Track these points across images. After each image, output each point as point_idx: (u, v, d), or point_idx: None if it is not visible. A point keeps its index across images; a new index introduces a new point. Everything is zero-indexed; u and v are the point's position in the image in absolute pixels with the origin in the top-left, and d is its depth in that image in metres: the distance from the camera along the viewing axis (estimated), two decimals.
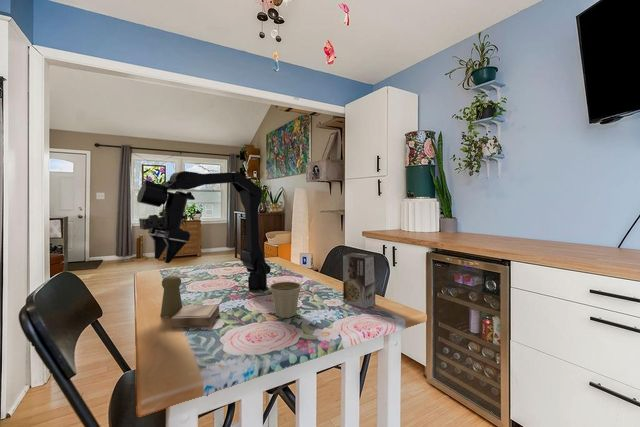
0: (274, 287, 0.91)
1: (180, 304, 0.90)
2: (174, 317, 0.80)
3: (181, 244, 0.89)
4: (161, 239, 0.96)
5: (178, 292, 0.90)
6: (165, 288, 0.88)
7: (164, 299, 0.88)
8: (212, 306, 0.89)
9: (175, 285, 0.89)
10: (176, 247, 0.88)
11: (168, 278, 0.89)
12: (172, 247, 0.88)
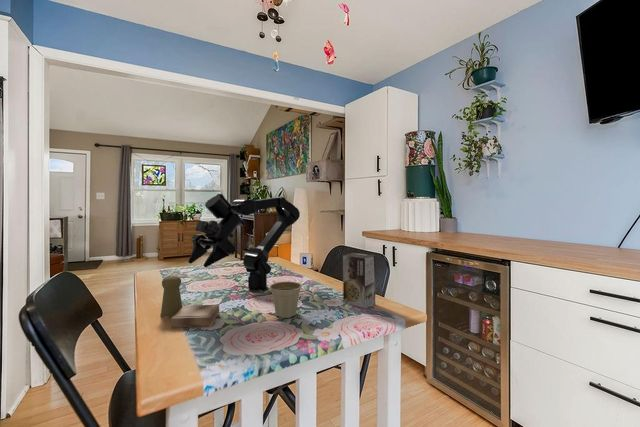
0: (274, 287, 0.91)
1: (180, 304, 0.90)
2: (174, 317, 0.80)
3: (223, 255, 0.96)
4: (200, 248, 1.03)
5: (178, 292, 0.90)
6: (165, 288, 0.88)
7: (164, 299, 0.88)
8: (212, 306, 0.89)
9: (175, 285, 0.89)
10: (218, 256, 0.96)
11: (168, 278, 0.89)
12: (215, 254, 0.95)
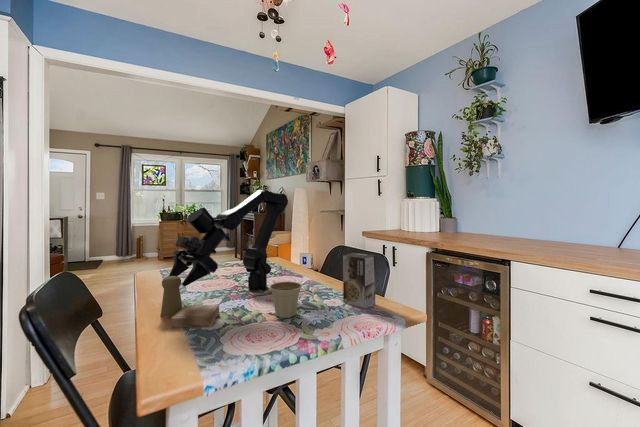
0: (274, 287, 0.91)
1: (180, 304, 0.90)
2: (174, 317, 0.80)
3: (204, 273, 0.91)
4: (181, 264, 0.98)
5: (178, 292, 0.90)
6: (165, 288, 0.88)
7: (164, 299, 0.88)
8: (212, 306, 0.89)
9: (175, 285, 0.89)
10: (199, 274, 0.91)
11: (168, 278, 0.89)
12: (195, 272, 0.90)
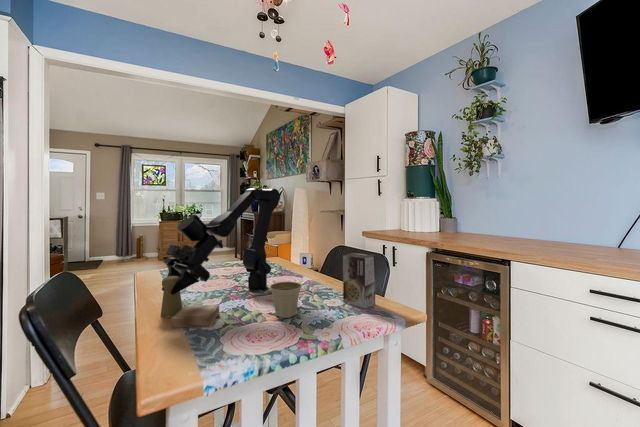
0: (274, 287, 0.91)
1: (180, 304, 0.90)
2: (174, 317, 0.80)
3: (193, 281, 0.91)
4: (176, 273, 0.94)
5: (178, 292, 0.90)
6: (165, 288, 0.88)
7: (164, 299, 0.88)
8: (212, 306, 0.89)
9: None
10: (187, 282, 0.90)
11: (168, 278, 0.89)
12: (183, 280, 0.89)
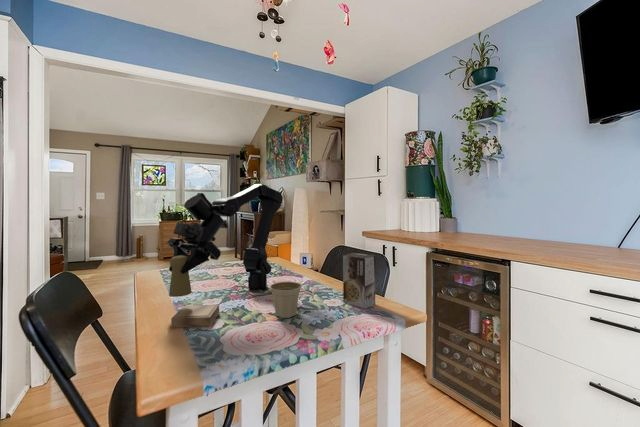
0: (274, 287, 0.91)
1: (189, 284, 0.88)
2: (174, 317, 0.80)
3: (202, 260, 0.89)
4: (182, 253, 0.92)
5: None
6: (174, 267, 0.85)
7: (173, 279, 0.85)
8: (212, 306, 0.89)
9: None
10: (197, 261, 0.88)
11: (177, 257, 0.86)
12: (193, 259, 0.87)
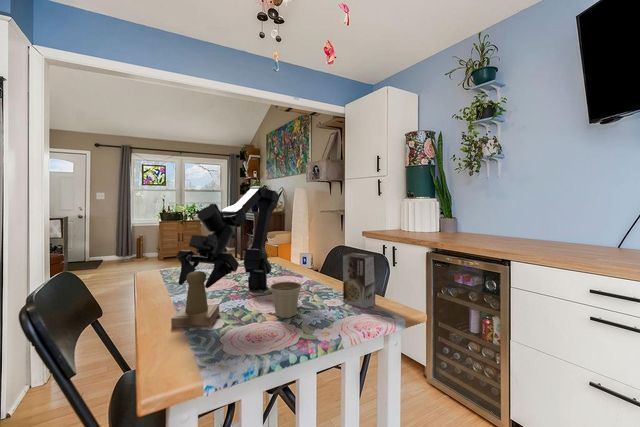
0: (274, 287, 0.91)
1: (206, 300, 0.86)
2: (174, 317, 0.80)
3: (225, 273, 0.87)
4: (189, 266, 0.89)
5: (204, 287, 0.86)
6: (192, 284, 0.83)
7: (191, 296, 0.83)
8: (212, 306, 0.89)
9: (203, 280, 0.84)
10: (220, 274, 0.85)
11: (195, 273, 0.84)
12: (217, 272, 0.85)
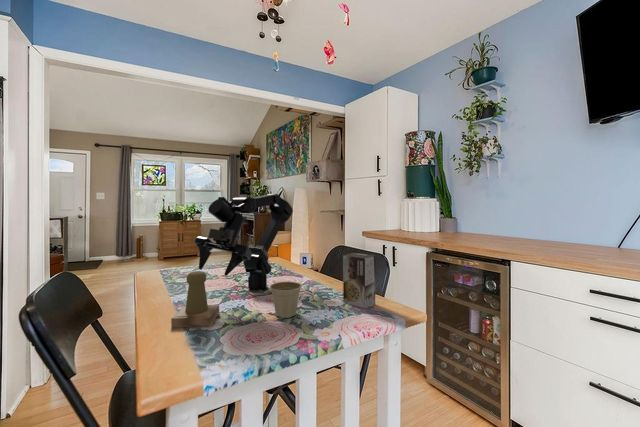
0: (274, 287, 0.91)
1: (206, 300, 0.86)
2: (174, 317, 0.80)
3: (240, 261, 0.99)
4: (206, 251, 1.00)
5: (204, 287, 0.86)
6: (192, 284, 0.83)
7: (191, 296, 0.83)
8: (212, 306, 0.89)
9: (203, 280, 0.84)
10: (236, 262, 0.98)
11: (195, 273, 0.84)
12: (234, 262, 0.97)
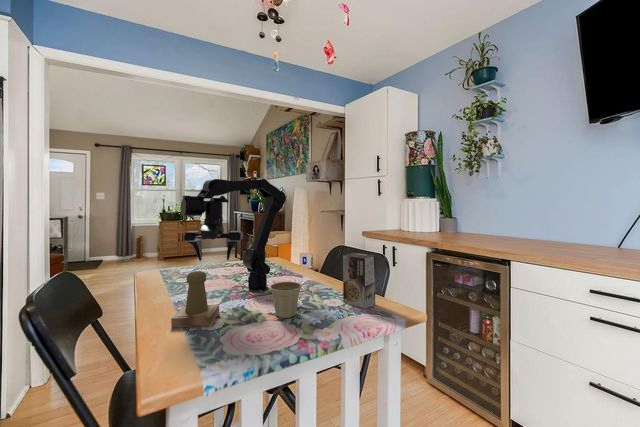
0: (274, 287, 0.91)
1: (206, 300, 0.86)
2: (174, 317, 0.80)
3: None
4: (199, 243, 1.04)
5: (204, 287, 0.86)
6: (192, 284, 0.83)
7: (191, 296, 0.83)
8: (212, 306, 0.89)
9: (203, 280, 0.84)
10: (232, 245, 1.06)
11: (195, 273, 0.84)
12: None
